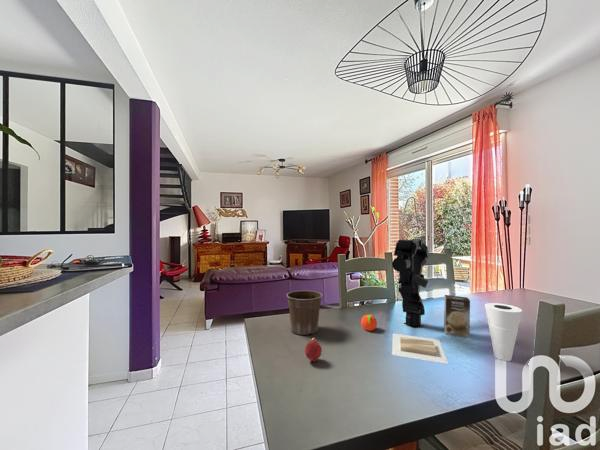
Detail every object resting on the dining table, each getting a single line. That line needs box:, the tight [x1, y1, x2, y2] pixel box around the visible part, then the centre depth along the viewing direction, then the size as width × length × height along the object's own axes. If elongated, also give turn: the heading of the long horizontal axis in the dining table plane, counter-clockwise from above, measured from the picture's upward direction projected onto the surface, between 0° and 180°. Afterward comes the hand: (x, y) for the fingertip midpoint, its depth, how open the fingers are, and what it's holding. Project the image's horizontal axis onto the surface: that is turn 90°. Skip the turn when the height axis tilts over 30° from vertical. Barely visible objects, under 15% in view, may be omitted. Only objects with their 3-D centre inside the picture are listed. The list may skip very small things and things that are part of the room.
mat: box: [391, 333, 449, 365], centre depth 101 cm, size 20×18×1 cm
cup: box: [484, 302, 523, 362], centre depth 94 cm, size 11×11×18 cm
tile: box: [400, 337, 437, 356], centre depth 100 cm, size 2×12×9 cm
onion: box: [304, 337, 323, 362], centre depth 91 cm, size 6×6×8 cm
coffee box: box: [443, 294, 471, 339], centre depth 114 cm, size 9×6×16 cm
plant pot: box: [286, 290, 323, 336], centre depth 119 cm, size 16×16×16 cm
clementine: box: [360, 314, 378, 332], centre depth 118 cm, size 8×7×7 cm
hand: (406, 304), depth 114 cm, fingers closed
